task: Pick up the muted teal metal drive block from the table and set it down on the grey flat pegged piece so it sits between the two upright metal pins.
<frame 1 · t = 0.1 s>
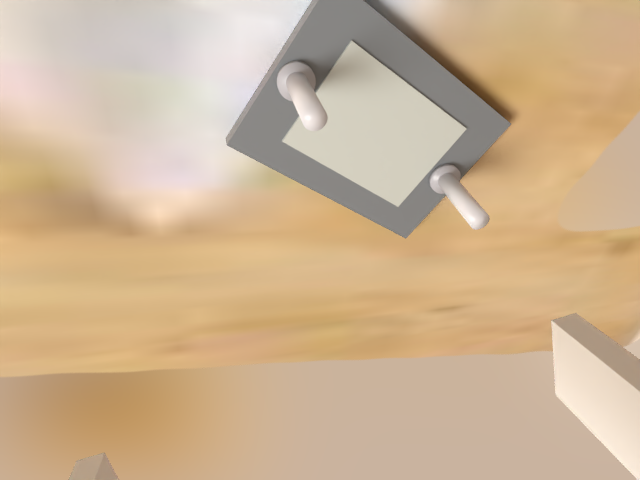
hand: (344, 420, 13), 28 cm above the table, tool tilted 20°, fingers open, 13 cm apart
grey flat pegged piece: (373, 127, 39), on the table
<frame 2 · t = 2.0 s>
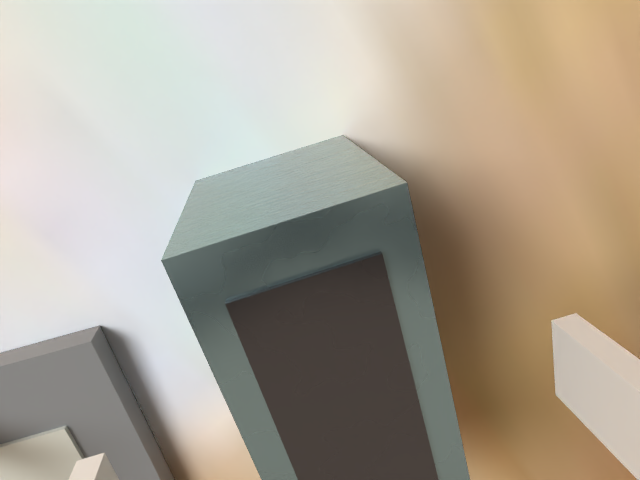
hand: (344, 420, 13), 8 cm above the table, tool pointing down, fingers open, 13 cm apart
drive: (311, 286, 20), on the table
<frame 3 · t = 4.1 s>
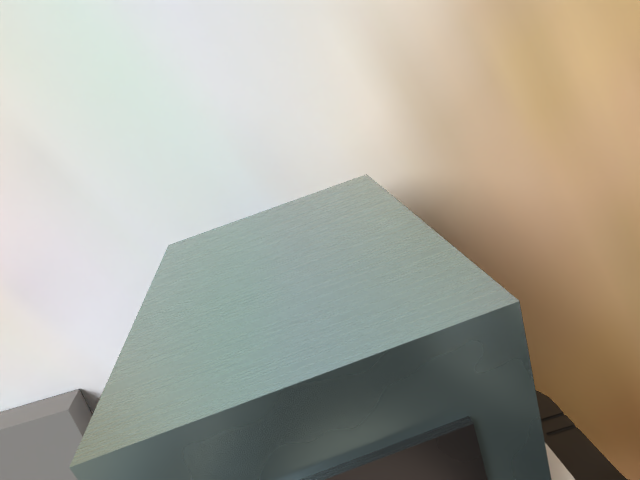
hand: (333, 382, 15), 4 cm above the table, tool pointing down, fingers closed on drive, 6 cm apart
drive: (330, 372, 15), point 3 cm above the table, touching gripper
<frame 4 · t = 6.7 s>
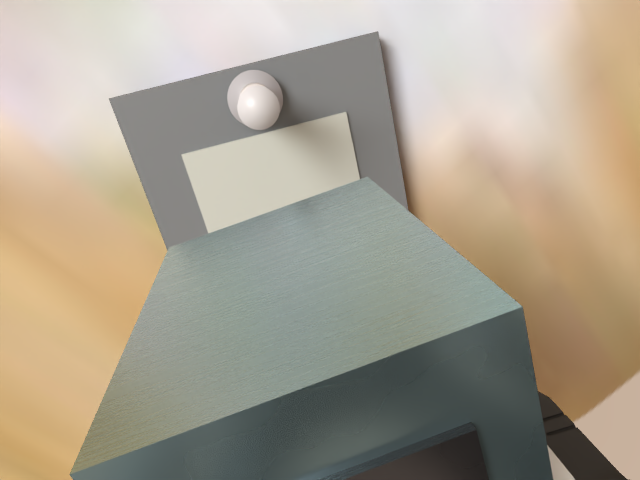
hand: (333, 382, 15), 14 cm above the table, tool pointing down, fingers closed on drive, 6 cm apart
grey flat pegged piece: (292, 235, 28), on the table
drive: (331, 374, 15), point 14 cm above the table, touching gripper
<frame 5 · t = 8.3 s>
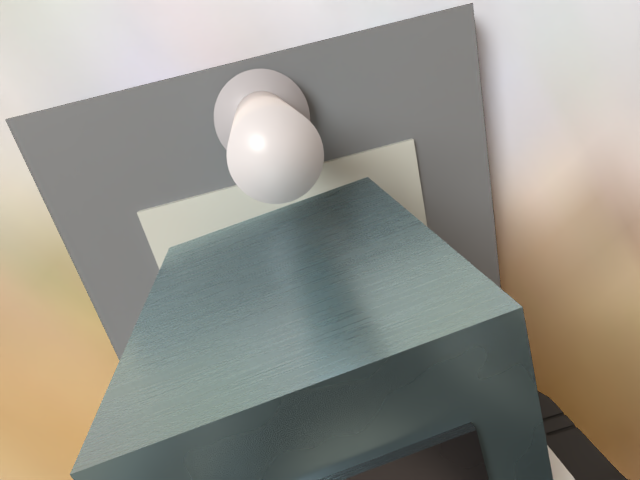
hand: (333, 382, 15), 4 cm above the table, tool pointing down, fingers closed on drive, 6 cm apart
grey flat pegged piece: (318, 325, 18), on the table
drive: (331, 374, 15), point 3 cm above the table, touching gripper
when the fingers open (2 cm above the table, at t = 9.1 s): drive stays where it is, resting on grey flat pegged piece.
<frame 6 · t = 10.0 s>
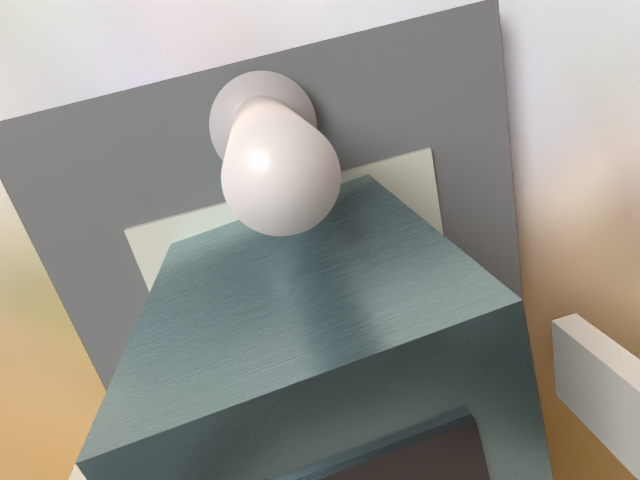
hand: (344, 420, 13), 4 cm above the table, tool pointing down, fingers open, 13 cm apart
grey flat pegged piece: (324, 349, 17), on the table
drive: (331, 371, 16), point 1 cm above the table, touching grey flat pegged piece
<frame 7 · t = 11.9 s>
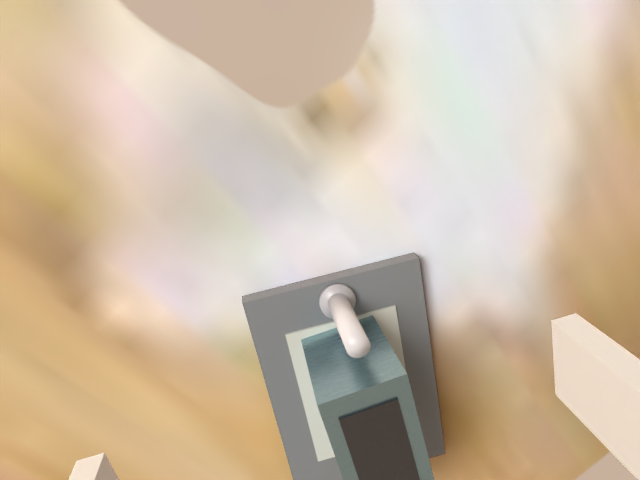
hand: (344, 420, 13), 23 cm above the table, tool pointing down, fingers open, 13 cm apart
grey flat pegged piece: (351, 377, 40), on the table
drive: (355, 387, 39), point 1 cm above the table, touching grey flat pegged piece
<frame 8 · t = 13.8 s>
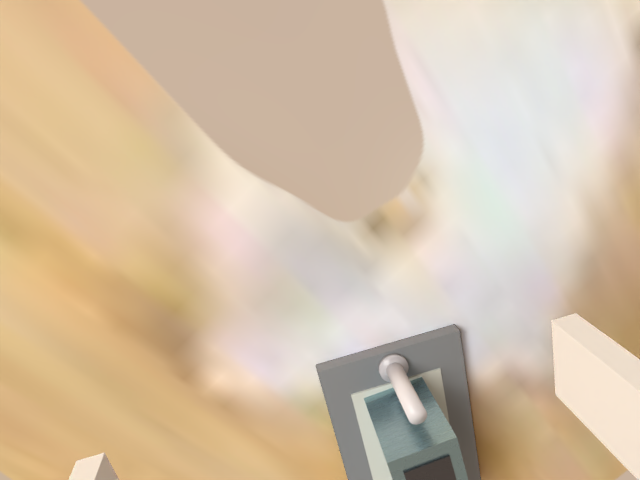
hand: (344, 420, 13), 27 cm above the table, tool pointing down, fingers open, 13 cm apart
grey flat pegged piece: (402, 423, 48), on the table
drive: (407, 432, 47), point 1 cm above the table, touching grey flat pegged piece
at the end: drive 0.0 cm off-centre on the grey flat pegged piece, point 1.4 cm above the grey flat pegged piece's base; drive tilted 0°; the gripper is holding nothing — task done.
